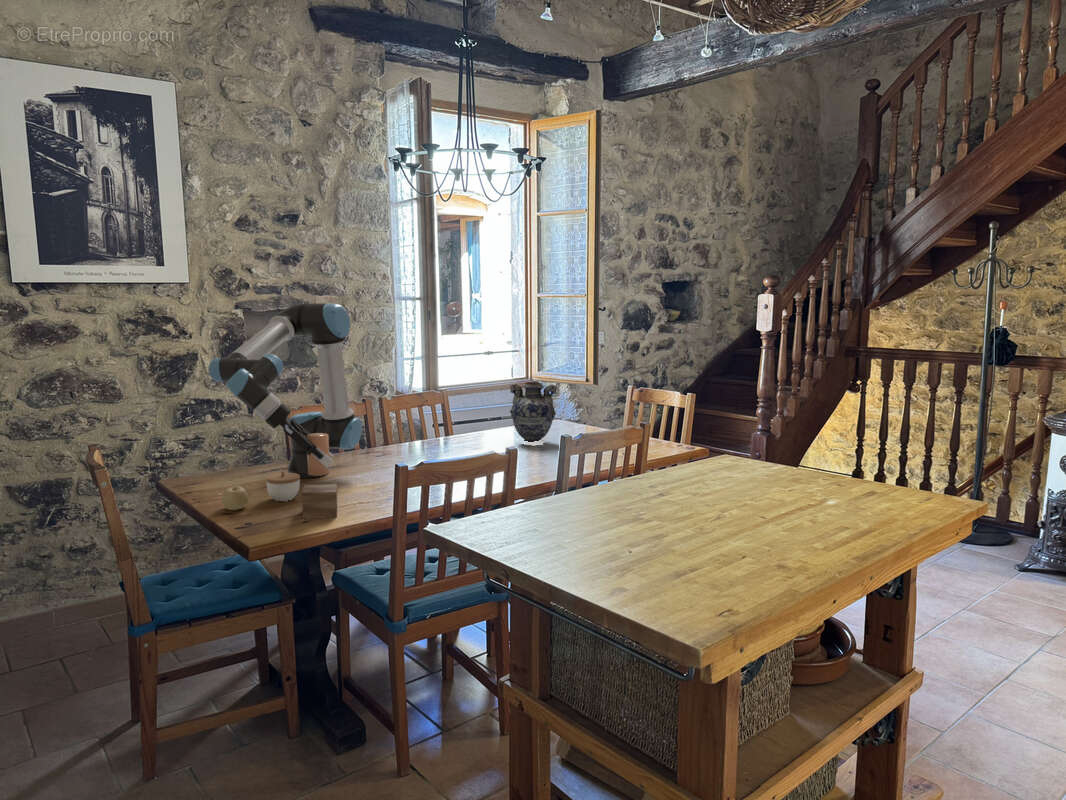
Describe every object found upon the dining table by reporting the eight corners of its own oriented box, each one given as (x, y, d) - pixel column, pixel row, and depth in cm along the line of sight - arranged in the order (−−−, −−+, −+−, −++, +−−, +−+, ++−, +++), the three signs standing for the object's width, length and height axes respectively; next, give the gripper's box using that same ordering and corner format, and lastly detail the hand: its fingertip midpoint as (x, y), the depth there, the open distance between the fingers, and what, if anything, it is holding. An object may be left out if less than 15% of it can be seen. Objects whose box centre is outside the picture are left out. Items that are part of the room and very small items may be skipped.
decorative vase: (505, 446, 334) (506, 384, 330) (513, 439, 352) (514, 380, 349) (552, 449, 331) (554, 386, 327) (558, 441, 349) (559, 381, 345)
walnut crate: (304, 509, 238) (304, 485, 237) (337, 507, 240) (336, 483, 239) (302, 519, 229) (302, 493, 227) (336, 517, 231) (336, 491, 230)
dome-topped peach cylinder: (308, 471, 235) (307, 433, 233) (329, 470, 236) (328, 432, 234) (307, 476, 229) (306, 437, 227) (329, 475, 230) (328, 436, 228)
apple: (249, 502, 245) (253, 485, 241) (241, 519, 238) (246, 501, 234) (224, 496, 243) (228, 478, 239) (216, 512, 236) (220, 494, 232)
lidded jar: (290, 504, 244) (289, 476, 242) (260, 502, 246) (259, 474, 244) (306, 495, 254) (305, 468, 253) (277, 493, 256) (276, 467, 255)
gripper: (267, 415, 236) (323, 463, 242) (260, 425, 217) (320, 478, 223) (284, 397, 236) (339, 446, 242) (279, 407, 218) (338, 460, 224)
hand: (330, 461), depth 233 cm, fingers closed on dome-topped peach cylinder, 6 cm apart
